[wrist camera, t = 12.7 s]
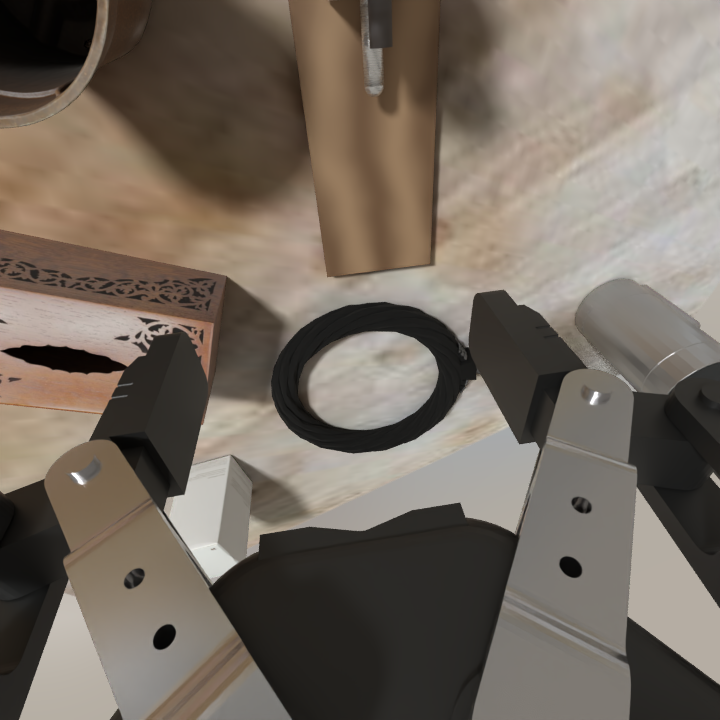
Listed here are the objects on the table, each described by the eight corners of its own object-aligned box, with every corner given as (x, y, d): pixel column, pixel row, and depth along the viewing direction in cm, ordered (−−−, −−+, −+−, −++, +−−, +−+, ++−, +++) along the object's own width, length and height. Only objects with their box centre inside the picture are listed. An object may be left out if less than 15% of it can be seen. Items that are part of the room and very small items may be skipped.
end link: (403, -62, 30) (472, -120, 18) (404, 90, 35) (456, 117, 24) (322, -55, 29) (341, -109, 18) (336, 97, 35) (357, 128, 24)
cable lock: (238, 342, 48) (485, 283, 47) (241, 324, 51) (474, 268, 50) (304, 474, 66) (485, 432, 65) (303, 455, 69) (477, 415, 68)
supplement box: (179, 467, 66) (155, 559, 54) (231, 453, 65) (218, 543, 54) (206, 496, 72) (189, 585, 60) (254, 483, 71) (246, 571, 60)
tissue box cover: (227, 274, 46) (214, 323, 39) (215, 369, 55) (203, 424, 47) (-50, 217, 39) (-134, 263, 31) (-15, 337, 47) (-75, 396, 40)
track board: (442, -227, 26) (566, -441, 14) (426, 258, 48) (471, 333, 36) (258, -214, 26) (227, -428, 14) (326, 271, 47) (337, 351, 35)
